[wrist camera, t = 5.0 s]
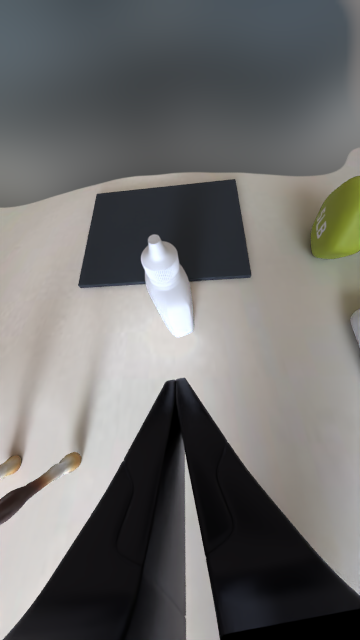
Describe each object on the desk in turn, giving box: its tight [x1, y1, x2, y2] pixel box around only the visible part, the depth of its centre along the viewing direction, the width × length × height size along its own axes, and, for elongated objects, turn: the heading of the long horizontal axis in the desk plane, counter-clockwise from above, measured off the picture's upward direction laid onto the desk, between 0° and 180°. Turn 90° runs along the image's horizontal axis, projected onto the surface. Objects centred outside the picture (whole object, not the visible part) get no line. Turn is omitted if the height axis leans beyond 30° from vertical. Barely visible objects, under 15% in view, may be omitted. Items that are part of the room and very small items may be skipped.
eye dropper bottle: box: [141, 235, 194, 337], centre depth 16 cm, size 4×6×12 cm
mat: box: [78, 179, 251, 288], centre depth 26 cm, size 17×22×1 cm
